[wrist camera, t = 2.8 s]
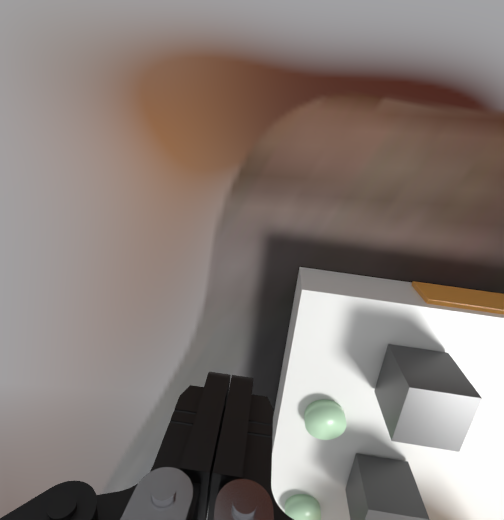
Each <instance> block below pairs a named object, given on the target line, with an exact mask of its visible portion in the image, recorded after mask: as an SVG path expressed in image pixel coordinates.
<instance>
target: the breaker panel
mask: <svg viewBox="0 0 504 520" xmlns="http://www.w3.org/2000/svg"><path fill="white" fill-rule="evenodd" d="M388 344H393V345H399V346H406V347H413V348H420V349H427V350H433V351H440V352H447V353H449V354H450V356H451V357H452V358H453V360H454V361H455V362H456V364H457V365H458V366H459V368H460V369H461V371H462V372H463V373H464V375H465V376H466V377H467V379H468V380H469V381H470V383H471V384H472V385H473V387H474V388H475V389H476V391H477V392H478V393H479V395H480V396H481V397H482V400H481V403H480V405H479V407H478V409H477V412H476V414H475V416H474V419H473V421H472V423H471V426H470V428H469V430H468V433H467V435H466V437H465V440H464V442H463V444H462V446H461V449H460V451H459V452H457V451H451V450H445V449H438V448H432V447H426V446H419V445H413V444H407V443H401V442H394V441H391V438H390V435H389V432H388V430H387V427H386V424H385V421H384V418H383V415H382V412H381V409H380V406H379V404H378V401H377V398H376V395H375V392H374V390H375V387H376V384H377V380H378V377H379V373H380V370H381V367H382V363H383V360H384V357H385V353H386V350H387V346H388ZM356 453H357V454H364V455H370V456H376V457H382V458H388V459H395V460H401V461H407V462H408V463H409V466H410V468H411V471H412V474H413V476H414V479H415V482H416V484H417V487H418V490H419V492H420V495H421V498H422V500H423V503H424V506H425V508H426V511H427V514H428V516H429V519H430V520H504V294H501V293H494V292H487V291H480V290H473V289H465V288H458V287H451V286H444V285H437V284H429V283H422V282H415V281H413V282H404V281H397V280H390V279H383V278H376V277H369V276H361V275H354V274H347V273H340V272H333V271H326V270H319V269H311V268H304V267H299V273H298V279H297V284H296V290H295V296H294V302H293V307H292V313H291V319H290V324H289V330H288V336H287V341H286V347H285V353H284V359H283V364H282V370H281V376H280V381H279V387H278V393H277V398H276V404H275V410H274V416H273V436H272V472H271V489H272V493H273V496H274V499H275V501H276V503H277V504H278V506H279V507H280V508H281V509H282V511H283V512H284V513H285V514H287V515H288V516H289V517H291V518H292V519H294V520H350V515H349V509H348V503H347V497H346V491H345V489H346V485H347V482H348V479H349V475H350V472H351V468H352V465H353V462H354V458H355V455H356Z"/></svg>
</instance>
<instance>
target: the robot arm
mask: <svg viewBox="0 0 504 520" xmlns="http://www.w3.org/2000/svg"><path fill="white" fill-rule="evenodd" d="M229 385H230V388H229ZM252 387H253V378H249V377H242V376H235V375H232V378H231V383H230V375H228V374H221V373H215V372H209V373H208V376H207V379H206V383H205V386H204V387H198V386H191V385H190V386H189V387H188V388H187V389H186V390H185V391H184V392H183V393H182V394H181V395H180V397H179V399H178V402H177V404H176V407H175V411H174V412H173V415H172V418H171V421H170V423H169V426H168V428H167V431H166V433H165V436H164V439H163V441H162V444H161V447H160V449H159V452H158V454H157V457H156V460H155V462H154V465H153V467H152V469H151V471H150V472H149V473H148V474H146V475H145V476H144V477H143V478H142V479H141V480H140V481H139V483H138V484H137V485H135V486H133V487H131V488H129V489H126V490H123V491H119V492H113V493H107V494H101V495H96V493H95V491H94V490H93V488H92V487H91V486H90V485H88V484H87V483H84V482H80V481H67V482H64V483H60V484H58V485H56V486H54V487H52V488H50V489H48V490H47V491H45V492H43V493H42V494H40V495H38V496H37V497H35V498H33V499H32V500H30V501H28V502H27V503H25V504H23V505H22V506H20V507H19V508H17V509H15V510H14V511H12V512H10V513H9V514H7V515H5V516H4V517H2V518H0V520H206V518H207V513H208V519H207V520H294V519H292V518H291V517H289V516H288V515H287V514H285V513H284V512H283V511H282V509H281V508H280V507H279V506H278V504H277V503H276V501H275V499H274V496H273V493H272V489H271V472H272V436H273V408H272V406H271V404H270V402H269V400H268V398H267V397H265V396H258V395H252ZM208 508H209V510H208Z"/></svg>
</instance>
